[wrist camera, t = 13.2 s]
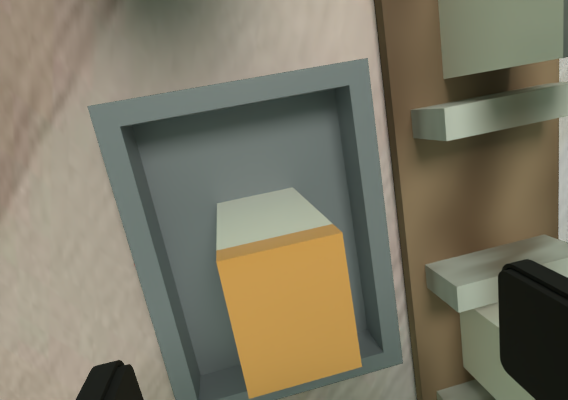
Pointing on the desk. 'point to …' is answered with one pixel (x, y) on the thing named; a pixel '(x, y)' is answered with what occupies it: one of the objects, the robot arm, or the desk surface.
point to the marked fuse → (285, 291)
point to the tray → (239, 184)
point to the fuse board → (465, 184)
